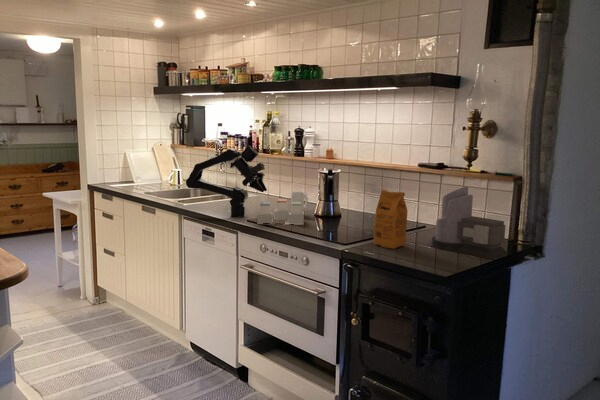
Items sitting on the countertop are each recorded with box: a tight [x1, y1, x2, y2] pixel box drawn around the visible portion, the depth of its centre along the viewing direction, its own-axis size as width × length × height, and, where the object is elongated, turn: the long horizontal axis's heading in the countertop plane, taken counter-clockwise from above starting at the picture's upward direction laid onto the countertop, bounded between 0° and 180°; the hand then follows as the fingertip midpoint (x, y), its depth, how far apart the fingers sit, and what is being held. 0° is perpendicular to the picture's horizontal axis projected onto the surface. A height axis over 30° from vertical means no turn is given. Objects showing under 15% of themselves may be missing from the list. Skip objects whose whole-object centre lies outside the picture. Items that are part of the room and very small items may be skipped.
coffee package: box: [373, 188, 409, 249], centre depth 204 cm, size 10×12×22 cm
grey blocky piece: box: [428, 186, 509, 260], centre depth 199 cm, size 30×16×24 cm, turn 41°
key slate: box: [259, 201, 271, 215], centre depth 247 cm, size 5×5×6 cm
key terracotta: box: [276, 198, 288, 211], centre depth 258 cm, size 5×5×6 cm
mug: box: [290, 191, 309, 213], centre depth 271 cm, size 10×7×12 cm, turn 127°
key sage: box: [292, 202, 302, 214], centre depth 249 cm, size 5×5×6 cm
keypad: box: [256, 208, 305, 226], centre depth 253 cm, size 22×18×4 cm
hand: (264, 191), depth 259 cm, fingers open, 4 cm apart
